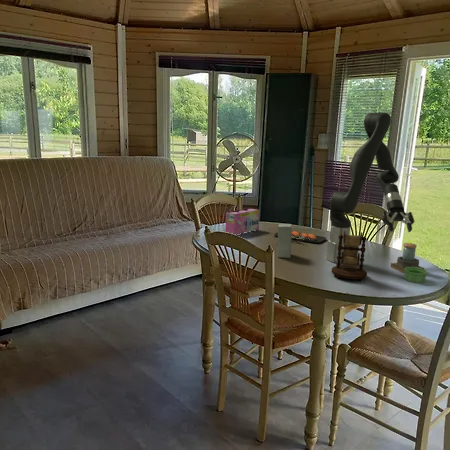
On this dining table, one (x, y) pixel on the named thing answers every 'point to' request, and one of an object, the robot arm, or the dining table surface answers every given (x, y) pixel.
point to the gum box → (242, 221)
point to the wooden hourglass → (350, 257)
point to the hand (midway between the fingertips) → (401, 231)
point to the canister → (409, 252)
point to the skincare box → (284, 240)
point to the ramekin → (415, 274)
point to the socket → (405, 264)
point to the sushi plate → (305, 237)
